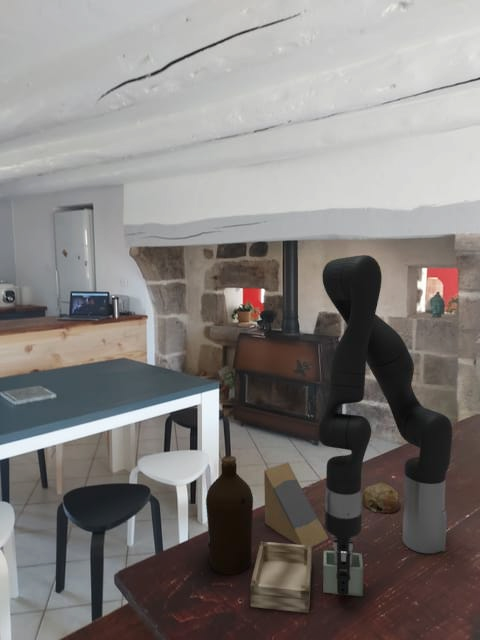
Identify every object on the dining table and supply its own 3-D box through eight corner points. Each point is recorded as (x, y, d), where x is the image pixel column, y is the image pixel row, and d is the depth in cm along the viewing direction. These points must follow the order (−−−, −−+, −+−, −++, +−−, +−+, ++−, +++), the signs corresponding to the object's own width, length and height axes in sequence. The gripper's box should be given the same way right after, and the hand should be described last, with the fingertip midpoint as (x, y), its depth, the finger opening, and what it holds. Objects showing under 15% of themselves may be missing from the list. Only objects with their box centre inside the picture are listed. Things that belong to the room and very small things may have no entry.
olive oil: (260, 554, 118) (259, 452, 114) (243, 581, 108) (242, 471, 105) (218, 545, 121) (216, 446, 118) (199, 570, 112) (196, 464, 108)
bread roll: (360, 519, 140) (359, 500, 135) (365, 489, 147) (364, 471, 143) (397, 525, 136) (397, 506, 132) (400, 495, 144) (400, 476, 140)
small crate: (361, 579, 108) (361, 553, 107) (362, 596, 102) (363, 569, 102) (323, 575, 109) (323, 550, 108) (323, 592, 104) (323, 565, 103)
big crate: (311, 564, 113) (311, 545, 113) (308, 613, 98) (309, 591, 97) (260, 560, 115) (260, 541, 115) (250, 606, 100) (250, 585, 99)
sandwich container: (304, 551, 119) (305, 491, 117) (263, 524, 131) (263, 469, 129) (329, 538, 124) (330, 481, 122) (288, 513, 136) (288, 461, 134)
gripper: (364, 527, 96) (362, 604, 98) (359, 492, 110) (358, 561, 112) (324, 524, 97) (323, 600, 99) (325, 490, 111) (324, 558, 113)
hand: (342, 579), depth 106 cm, fingers open, 8 cm apart
